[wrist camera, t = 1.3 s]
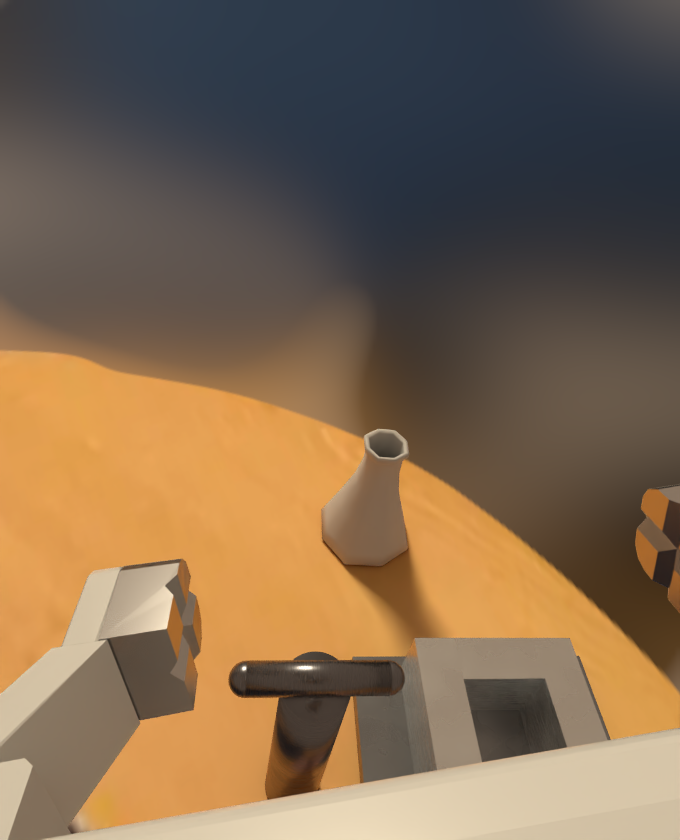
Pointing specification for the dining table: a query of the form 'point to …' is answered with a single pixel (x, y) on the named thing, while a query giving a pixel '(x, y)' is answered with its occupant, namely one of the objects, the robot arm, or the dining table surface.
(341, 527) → the flask
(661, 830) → the robot arm
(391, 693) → the chuck key
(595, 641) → the dining table surface
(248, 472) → the dining table surface
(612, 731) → the dining table surface
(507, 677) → the block
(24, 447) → the dining table surface
